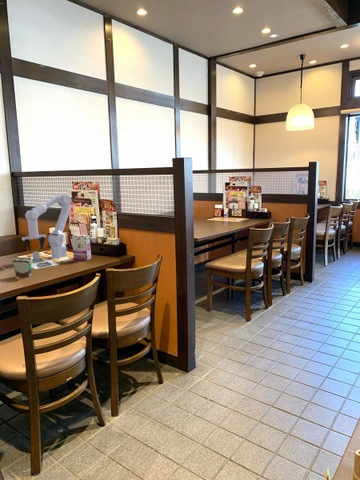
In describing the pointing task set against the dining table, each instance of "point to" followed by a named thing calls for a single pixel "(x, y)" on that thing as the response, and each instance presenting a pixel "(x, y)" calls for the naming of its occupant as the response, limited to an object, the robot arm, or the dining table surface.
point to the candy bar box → (81, 247)
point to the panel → (43, 263)
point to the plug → (36, 256)
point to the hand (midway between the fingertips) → (35, 249)
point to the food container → (23, 266)
